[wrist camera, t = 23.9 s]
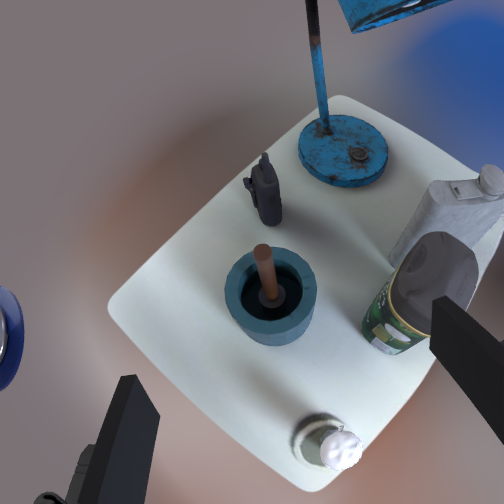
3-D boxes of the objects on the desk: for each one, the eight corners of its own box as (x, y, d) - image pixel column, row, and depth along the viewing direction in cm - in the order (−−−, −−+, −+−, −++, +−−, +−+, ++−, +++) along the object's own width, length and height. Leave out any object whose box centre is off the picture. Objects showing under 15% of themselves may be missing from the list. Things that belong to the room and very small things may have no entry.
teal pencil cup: (273, 361, 41) (269, 353, 33) (222, 309, 45) (206, 289, 37) (327, 308, 43) (335, 287, 35) (275, 260, 47) (270, 230, 39)
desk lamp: (366, 226, 48) (439, -101, 7) (276, 144, 56) (241, -114, 16) (424, 175, 50) (501, -71, 10) (338, 108, 59) (341, -112, 18)
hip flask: (467, 231, 45) (526, 155, 27) (476, 253, 43) (542, 182, 25) (386, 252, 45) (431, 167, 27) (395, 277, 44) (449, 201, 26)
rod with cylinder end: (274, 324, 42) (261, 278, 26) (258, 308, 44) (235, 252, 27) (291, 307, 43) (289, 251, 27) (275, 292, 44) (262, 228, 28)
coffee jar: (386, 277, 44) (432, 209, 27) (429, 307, 41) (495, 254, 24) (350, 332, 41) (386, 290, 25) (395, 364, 39) (458, 342, 22)
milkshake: (348, 415, 37) (363, 422, 28) (350, 453, 34) (367, 469, 25) (313, 420, 37) (319, 429, 28) (316, 458, 35) (322, 477, 26)
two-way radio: (285, 225, 49) (280, 160, 36) (257, 233, 49) (242, 171, 36) (274, 196, 52) (266, 129, 38) (248, 204, 52) (231, 138, 38)
